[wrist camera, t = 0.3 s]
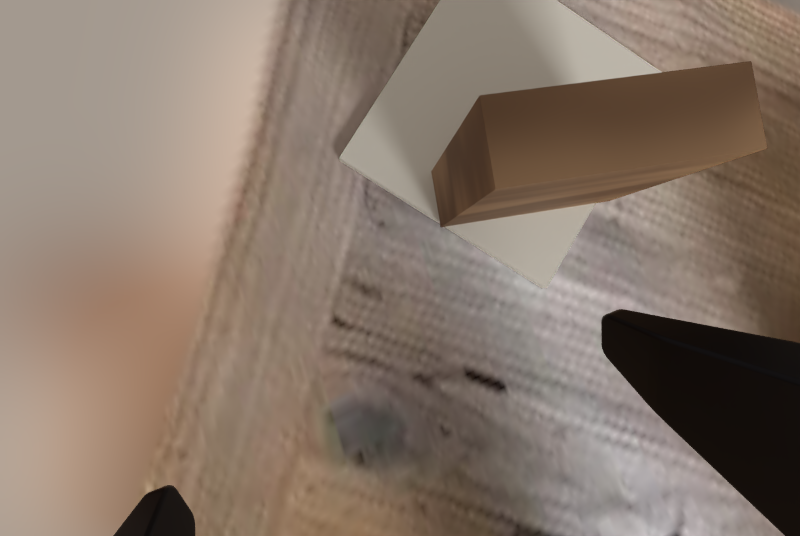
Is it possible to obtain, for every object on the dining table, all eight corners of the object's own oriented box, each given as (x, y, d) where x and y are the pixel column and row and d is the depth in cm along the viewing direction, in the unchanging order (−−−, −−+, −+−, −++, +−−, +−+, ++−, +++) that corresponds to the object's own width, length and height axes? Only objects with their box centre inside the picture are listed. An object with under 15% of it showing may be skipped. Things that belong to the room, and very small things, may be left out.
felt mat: (660, 81, 24) (668, 76, 24) (541, 288, 23) (546, 288, 22) (472, -47, 23) (475, -56, 23) (339, 161, 22) (339, 157, 22)
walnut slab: (608, 201, 23) (767, 148, 14) (440, 227, 22) (495, 189, 13) (599, 147, 23) (751, 61, 14) (431, 171, 22) (479, 95, 13)
